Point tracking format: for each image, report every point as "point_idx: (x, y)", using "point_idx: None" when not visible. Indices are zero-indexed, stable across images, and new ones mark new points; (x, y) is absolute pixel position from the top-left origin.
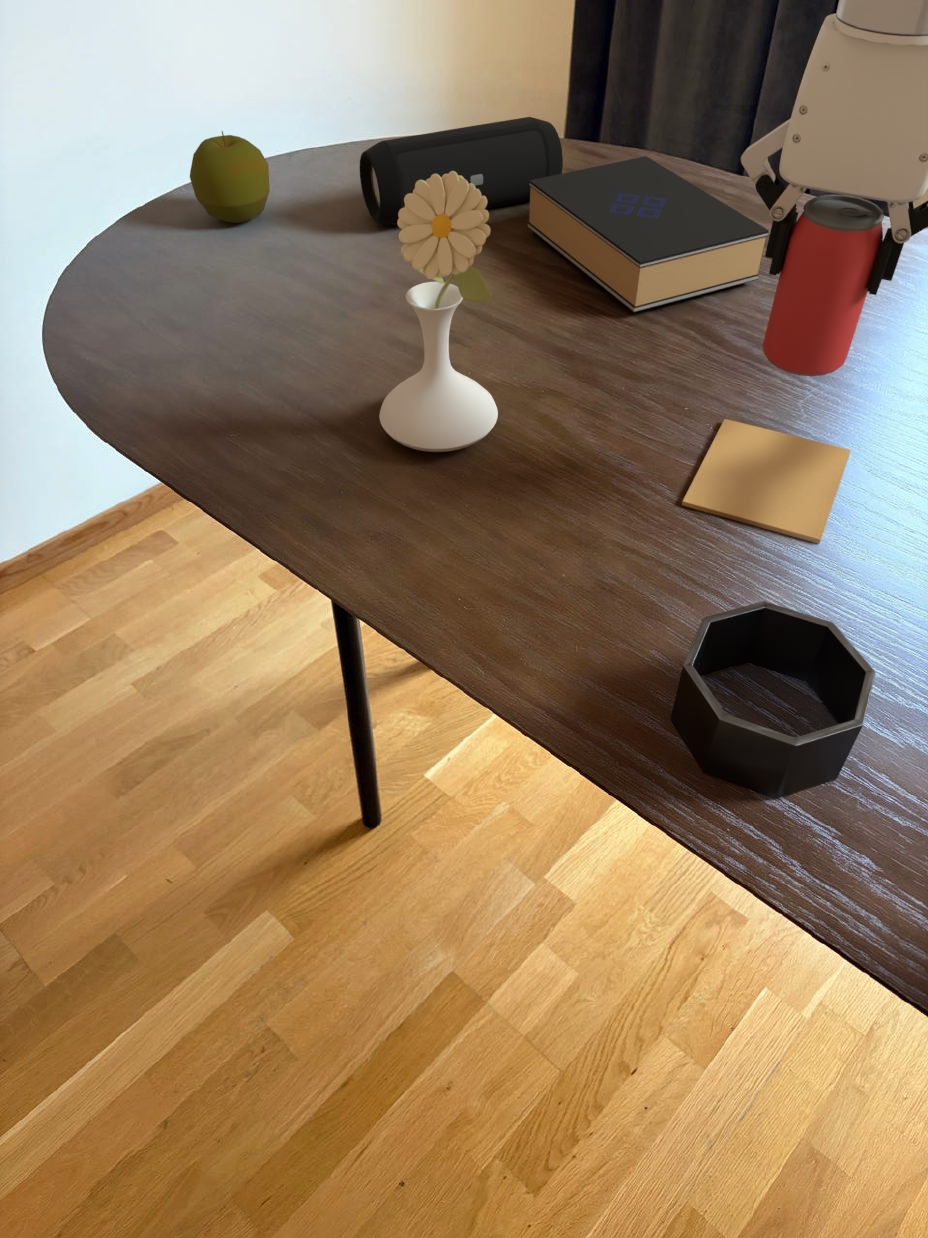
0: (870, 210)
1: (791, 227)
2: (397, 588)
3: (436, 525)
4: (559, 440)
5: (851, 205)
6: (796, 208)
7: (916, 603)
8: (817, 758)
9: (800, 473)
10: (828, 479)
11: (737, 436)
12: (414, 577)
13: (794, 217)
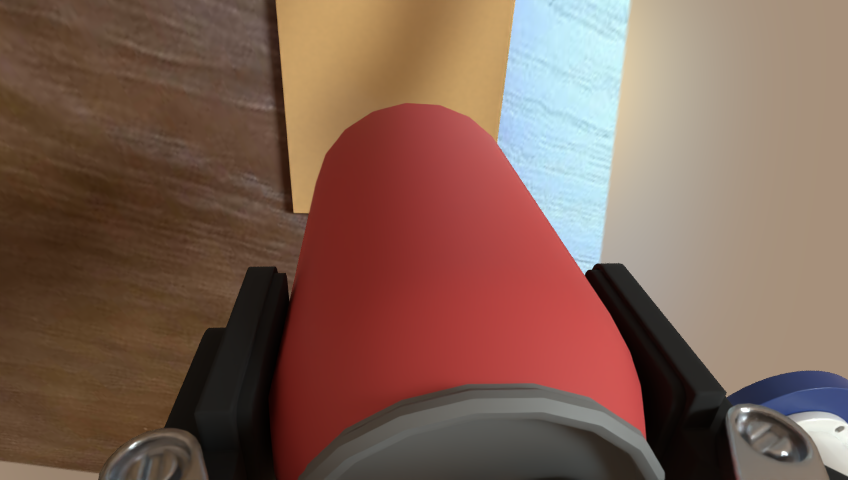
0: (606, 448)
1: (269, 477)
2: (78, 441)
3: (33, 360)
4: (34, 133)
5: (510, 431)
6: (231, 415)
7: (597, 259)
8: None
9: (442, 75)
10: (487, 72)
11: (314, 3)
12: (81, 425)
13: (256, 469)
